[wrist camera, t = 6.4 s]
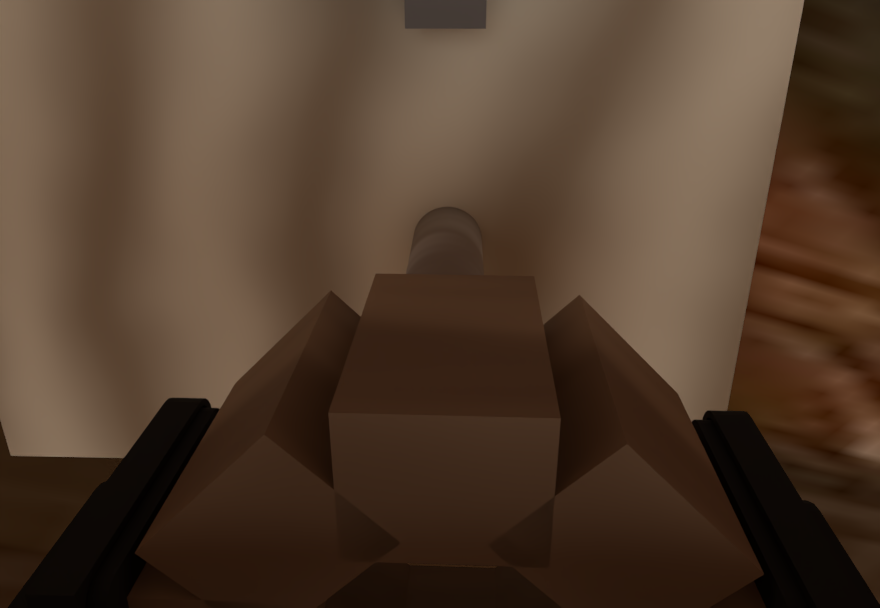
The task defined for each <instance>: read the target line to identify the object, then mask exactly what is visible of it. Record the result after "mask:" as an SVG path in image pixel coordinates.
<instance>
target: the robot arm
mask: <svg viewBox="0 0 880 608" xmlns="http://www.w3.org/2000/svg"><path fill="white" fill-rule="evenodd" d="M219 410H220V409H219V408H211V404H210V402H209V400H207V399H206V398H168V399H167V400H166V401H165V403H164V404H163V405H162V407H161V408H160V409H159V411H158V412H157V413H156V415H155V416H154V418H153V419H152V420H151V422H150V423H149V424H148V426H147V427H146V429H145V430H144V431H143V433H142V434H141V435H140V437H139V438H138V439H137V441H136V442H135V444H134V445H133V446H132V448H131V449H130V450H129V452H128V453H127V455H126V456H125V457H124V459H123V460H122V461H121V463H120V464H119V465H118V467H117V468H116V470H115V471H114V472H113V474H112V475H111V476H110V478H109V479H108V480H107V481H106V482H103V483H101V484H100V485H99V486H98V487H97V488H96V489H95V491H94V492H93V493H92V495H91V496H90V497H89V499H88V500H87V502H86V503H85V504H84V506H83V507H82V508H81V510H80V511H79V512H78V514H77V515H76V516H75V518H74V519H73V520H72V522H71V523H70V524H69V526H68V527H67V528H66V530H65V531H64V533H63V534H62V535H61V537H60V538H59V539H58V541H57V542H56V543H55V545H54V546H53V547H52V549H51V550H50V551H49V553H48V554H47V555H46V557H45V558H44V559H43V561H42V562H41V564H40V565H39V566H38V568H37V569H36V570H35V572H34V573H33V574H32V576H31V577H30V578H29V580H28V581H27V582H26V584H25V585H24V586H23V588H22V589H21V590H20V592H19V593H18V595H17V596H16V597H15V599H14V600H13V601H12V603H11V604H10V605H9V607H8V608H129V605H128V601H127V596H128V595H129V593H130V591H131V589H132V587H133V586H134V584H135V582H136V580H137V579H138V577H139V575H140V573H141V571H142V570H143V568H144V566H145V564H146V563H147V562H146V561H145V560H143V559H142V558H141V557H139V556H138V555H136V554H135V551H136V550H137V548H138V546H139V545H140V543H141V541H142V540H143V538H144V536H145V535H146V533H147V531H148V530H149V528H150V526H151V524H152V523H153V521H154V519H155V518H156V516H157V514H158V513H159V511H160V509H161V508H162V506H163V504H164V503H165V501H166V499H167V498H168V496H169V494H170V492H171V491H172V489H173V487H174V486H175V484H176V482H177V481H178V479H179V477H180V476H181V474H182V472H183V471H184V469H185V467H186V465H187V464H188V462H189V460H190V459H191V457H192V455H193V454H194V452H195V450H196V449H197V447H198V445H199V444H200V442H201V440H202V438H203V437H204V435H205V433H206V432H207V430H208V428H209V427H210V425H211V423H212V422H213V420H214V418H215V417H216V415H217V413H218V411H219ZM692 424H693V426H694V428H695V430H696V433H697V435H698V437H699V439H700V441H701V443H702V445H703V447H704V449H705V451H706V453H707V456H708V458H709V460H710V462H711V464H712V466H713V468H714V470H715V472H716V474H717V476H718V479H719V481H720V483H721V485H722V487H723V489H724V491H725V493H726V495H727V497H728V499H729V501H730V504H731V506H732V508H733V510H734V512H735V514H736V516H737V518H738V520H739V522H740V524H741V527H742V529H743V531H744V533H745V535H746V537H747V539H748V541H749V543H750V545H751V547H752V550H753V552H754V554H755V556H756V558H757V560H758V562H759V564H760V566H761V568H762V570H763V573H764V575H762V576H761V577H759V578H757V579H756V580H754V582H755V584H756V586H757V589H758V591H759V593H760V595H761V597H762V600H763V602H764V604H765V606H766V608H880V604H879V603H878V601H877V600H876V598H875V597H874V595H873V593H872V592H871V590H870V589H869V587H868V586H867V584H866V582H865V581H864V579H863V578H862V576H861V575H860V573H859V572H858V570H857V568H856V567H855V565H854V564H853V562H852V561H851V559H850V557H849V556H848V554H847V553H846V551H845V550H844V548H843V546H842V545H841V543H840V542H839V540H838V539H837V537H836V535H835V534H834V532H833V531H832V529H831V528H830V526H829V524H828V523H827V521H826V520H825V518H824V517H823V515H822V514H821V512H820V511H819V509H818V508H817V507H816V506H815V505H814V504H813V503H811V502H809V501H806V500H802V499H801V497H800V496H799V494H798V493H797V491H796V489H795V488H794V486H793V484H792V483H791V481H790V480H789V478H788V476H787V475H786V473H785V472H784V470H783V468H782V467H781V465H780V463H779V462H778V460H777V459H776V457H775V455H774V454H773V452H772V450H771V449H770V447H769V446H768V444H767V442H766V441H765V439H764V437H763V436H762V434H761V433H760V431H759V429H758V428H757V426H756V425H755V423H754V421H753V420H752V418H751V416H750V415H749V414H748V413H747V412H744V411H712V410H708V411H706V412H705V414H704V416H703V419H702V420H693V421H692Z"/></svg>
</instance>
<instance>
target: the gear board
mask: <svg viewBox="0 0 880 608" xmlns="http://www.w3.org/2000/svg"><path fill="white" fill-rule="evenodd" d="M803 4H804V0H0V421H1V424H2V427H3V431H4V434H5V438H6V441H7V444H8V448H9V451H10V455H11V456H46V457H99V458H124V457H125V456H126V455H127V453H128V452H129V450H130V449H131V448H132V446H133V445H134V444H135V442H136V441H137V439H138V438H139V437H140V435H141V434H142V433H143V431H144V430H145V429H146V427H147V426H148V424H149V423H150V422H151V420H152V419H153V418H154V416H155V415H156V413H157V412H158V411H159V409H160V408H161V407H162V405H163V404H164V403H165V401H166V400H167V399H168V398H206V399H207V400H209V402H210V404H211V408H219V409H220V408H221V406H222V405H223V403H224V401H225V400H226V398H227V396H228V395H229V393H230V391H231V390H232V388H233V386H234V384H235V383H236V382H237V381H238V380H239V379H240V378H241V377H242V376H243V375H244V374H245V373H246V372H247V371H248V370H249V369H250V368H252V367H253V366H254V365H255V364H256V363H257V362H258V361H259V360H260V359H261V358H262V357H263V356H264V355H265V354H266V353H267V352H268V351H269V350H270V349H271V348H272V347H273V346H274V345H275V344H276V343H277V342H278V341H279V340H280V339H281V338H282V337H283V336H285V335H286V334H287V333H288V332H289V331H290V330H291V329H292V328H293V327H294V326H295V325H296V324H297V323H298V322H299V321H300V320H301V319H302V318H303V317H304V316H305V315H306V314H307V313H308V312H309V311H310V310H311V309H312V308H313V307H314V306H315V305H316V304H318V303H319V302H320V301H321V300H322V299H323V298H324V297H325V296H326V295H327V294H328V293H329V292H330V291H332V292H334V293H335V294H336V295H337V296H338V297H339V298H340V299H341V300H343V301H344V302H345V303H346V304H347V305H348V306H349V307H350V308H352V309H353V310H354V311H355V312H356V313H357V314H358V315H359V316H361V315H362V312H363V309H364V306H365V303H366V300H367V297H368V295H369V292H370V289H371V286H372V283H373V280H374V277H375V274H434V275H495V276H534V278H535V283H536V289H537V294H538V299H539V305H540V310H541V315H542V321H543V325H544V324H545V323H546V322H547V321H548V320H550V319H551V318H552V317H553V316H554V315H556V314H557V313H558V312H559V311H560V310H562V309H563V308H564V307H565V306H566V305H568V304H569V303H570V302H571V301H572V300H574V299H575V298H576V297H577V296H578V295H580V296H581V297H582V298H583V299H584V300H585V301H586V302H587V303H588V304H589V305H590V306H591V307H592V308H593V309H594V310H595V311H596V312H597V313H598V314H599V315H600V316H601V317H602V318H603V319H604V320H605V321H606V322H607V323H608V324H609V325H610V326H611V327H612V328H613V329H614V330H615V331H616V332H617V333H618V334H619V335H620V336H621V337H622V338H623V339H624V340H625V341H626V342H627V343H628V344H629V345H630V346H631V347H632V348H633V349H634V350H635V351H636V352H637V353H638V354H639V355H640V356H641V357H642V358H643V359H644V360H645V361H646V362H647V363H648V364H649V365H650V366H651V367H652V368H653V369H654V370H655V371H656V372H657V373H658V374H659V375H660V376H661V377H662V378H663V379H664V380H665V381H666V382H667V383H668V384H669V385H670V386H671V387H672V388H673V389H674V390H675V391H676V392H677V393H678V395H679V397H680V399H681V401H682V403H683V405H684V407H685V410H686V412H687V414H688V416H689V418H690V420H691V422H692V421H693V420H702V419H703V416H704V414H705V412H706V411H708V410H712V411H727V408H728V402H729V397H730V392H731V386H732V381H733V376H734V371H735V365H736V360H737V355H738V349H739V344H740V339H741V333H742V328H743V323H744V317H745V312H746V307H747V301H748V296H749V291H750V286H751V280H752V275H753V270H754V264H755V259H756V254H757V248H758V243H759V238H760V232H761V227H762V222H763V216H764V211H765V206H766V201H767V195H768V190H769V185H770V179H771V174H772V169H773V163H774V158H775V153H776V147H777V142H778V137H779V131H780V126H781V121H782V116H783V110H784V105H785V100H786V94H787V89H788V84H789V78H790V73H791V68H792V62H793V57H794V52H795V46H796V41H797V36H798V31H799V25H800V20H801V15H802V9H803Z"/></svg>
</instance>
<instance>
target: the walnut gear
mask: <svg viewBox="0 0 880 608" xmlns="http://www.w3.org/2000/svg"><path fill="white" fill-rule="evenodd" d="M135 554H136V555H138V556H139V557H141V558H142V559H143V560H145V561H146V562H147V563H146V564H145V566H144V568H143V570H142V571H141V573H140V575H139V577H138V579H137V580H136V582H135V584H134V586H133V587H132V589H131V591H130V593H129V595H128V596H127V601H128V605H129V608H766V606H765V604H764V602H763V600H762V597H761V595H760V593H759V591H758V589H757V586H756V584H755V582H754V580H756V579H757V578H759V577H761V576H762V575H764V573H763V570H762V568H761V566H760V564H759V562H758V560H757V558H756V556H755V554H754V552H753V550H752V547H751V545H750V543H749V541H748V539H747V537H746V535H745V533H744V531H743V529H742V527H741V524H740V522H739V520H738V518H737V516H736V514H735V512H734V510H733V508H732V506H731V504H730V501H729V499H728V497H727V495H726V493H725V491H724V489H723V487H722V485H721V483H720V481H719V479H718V476H717V474H716V472H715V470H714V468H713V466H712V464H711V462H710V460H709V458H708V456H707V453H706V451H705V449H704V447H703V445H702V443H701V441H700V439H699V437H698V435H697V433H696V430H695V428H694V426H693V424H692V422H691V420H690V418H689V416H688V414H687V412H686V410H685V407H684V405H683V403H682V401H681V399H680V397H679V395H678V393H677V392H676V391H675V390H674V389H673V388H672V387H671V386H670V385H669V384H668V383H667V382H666V381H665V380H664V379H663V378H662V377H661V376H660V375H659V374H658V373H657V372H656V371H655V370H654V369H653V368H652V367H651V366H650V365H649V364H648V363H647V362H646V361H645V360H644V359H643V358H642V357H641V356H640V355H639V354H638V353H637V352H636V351H635V350H634V349H633V348H632V347H631V346H630V345H629V344H628V343H627V342H626V341H625V340H624V339H623V338H622V337H621V336H620V335H619V334H618V333H617V332H616V331H615V330H614V329H613V328H612V327H611V326H610V325H609V324H608V323H607V322H606V321H605V320H604V319H603V318H602V317H601V316H600V315H599V314H598V313H597V312H596V311H595V310H594V309H593V308H592V307H591V306H590V305H589V304H588V303H587V302H586V301H585V300H584V299H583V298H582V297H581V296H580V295H578V296H577V297H576V298H575V299H574V300H572V301H571V302H570V303H569V304H568V305H566V306H565V307H564V308H563V309H562V310H560V311H559V312H558V313H557V314H556V315H554V316H553V317H552V318H551V319H550V320H548V321H547V322H546V323H545V324H544V325H543V321H542V315H541V310H540V305H539V299H538V294H537V289H536V283H535V278H534V276H495V275H434V274H375V277H374V280H373V283H372V286H371V289H370V292H369V295H368V297H367V300H366V303H365V306H364V309H363V312H362V315H361V316H359V315H358V314H357V313H356V312H355V311H354V310H353V309H352V308H350V307H349V306H348V305H347V304H346V303H345V302H344V301H343V300H341V299H340V298H339V297H338V296H337V295H336V294H335V293H334V292H332V291H330V292H329V293H328V294H327V295H326V296H325V297H324V298H323V299H322V300H321V301H320V302H319V303H318V304H316V305H315V306H314V307H313V308H312V309H311V310H310V311H309V312H308V313H307V314H306V315H305V316H304V317H303V318H302V319H301V320H300V321H299V322H298V323H297V324H296V325H295V326H294V327H293V328H292V329H291V330H290V331H289V332H288V333H287V334H286V335H285V336H283V337H282V338H281V339H280V340H279V341H278V342H277V343H276V344H275V345H274V346H273V347H272V348H271V349H270V350H269V351H268V352H267V353H266V354H265V355H264V356H263V357H262V358H261V359H260V360H259V361H258V362H257V363H256V364H255V365H254V366H253V367H252V368H250V369H249V370H248V371H247V372H246V373H245V374H244V375H243V376H242V377H241V378H240V379H239V380H238V381H237V382H236V383H235V384H234V386H233V388H232V390H231V391H230V393H229V395H228V396H227V398H226V400H225V401H224V403H223V405H222V406H221V408H220V410H219V411H218V413H217V415H216V417H215V418H214V420H213V422H212V423H211V425H210V427H209V428H208V430H207V432H206V433H205V435H204V437H203V438H202V440H201V442H200V444H199V445H198V447H197V449H196V450H195V452H194V454H193V455H192V457H191V459H190V460H189V462H188V464H187V465H186V467H185V469H184V471H183V472H182V474H181V476H180V477H179V479H178V481H177V482H176V484H175V486H174V487H173V489H172V491H171V492H170V494H169V496H168V498H167V499H166V501H165V503H164V504H163V506H162V508H161V509H160V511H159V513H158V514H157V516H156V518H155V519H154V521H153V523H152V524H151V526H150V528H149V530H148V531H147V533H146V535H145V536H144V538H143V540H142V541H141V543H140V545H139V546H138V548H137V550H136V551H135ZM407 563H418V564H448V565H478V566H498V567H496V568H470V567H440V566H410V565H409V564H407Z"/></svg>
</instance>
